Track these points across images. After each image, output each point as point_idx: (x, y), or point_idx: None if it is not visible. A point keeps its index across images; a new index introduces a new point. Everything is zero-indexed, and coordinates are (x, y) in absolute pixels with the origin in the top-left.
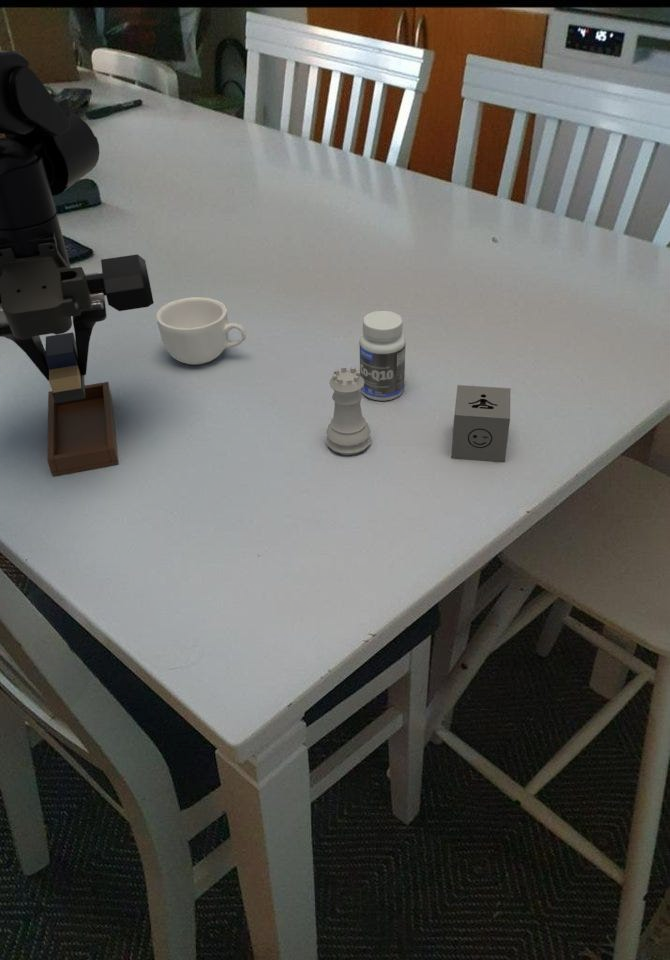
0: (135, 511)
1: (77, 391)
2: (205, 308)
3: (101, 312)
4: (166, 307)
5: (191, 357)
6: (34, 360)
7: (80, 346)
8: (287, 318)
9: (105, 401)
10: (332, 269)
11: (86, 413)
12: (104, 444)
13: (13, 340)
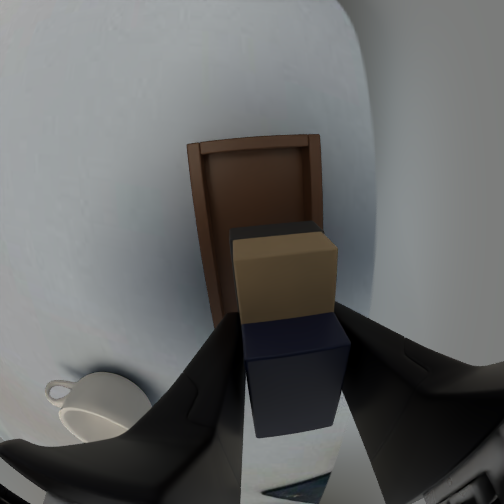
0: (165, 29)
1: (246, 235)
2: (103, 439)
3: (35, 481)
4: None
5: (107, 378)
6: (383, 331)
7: (211, 376)
8: (56, 407)
9: (217, 304)
10: (55, 441)
11: None
12: (218, 198)
13: (479, 366)
